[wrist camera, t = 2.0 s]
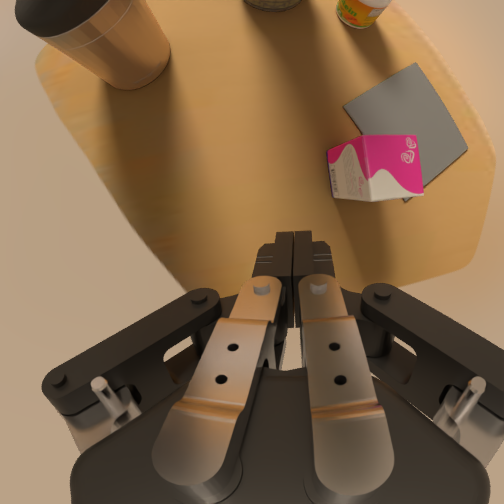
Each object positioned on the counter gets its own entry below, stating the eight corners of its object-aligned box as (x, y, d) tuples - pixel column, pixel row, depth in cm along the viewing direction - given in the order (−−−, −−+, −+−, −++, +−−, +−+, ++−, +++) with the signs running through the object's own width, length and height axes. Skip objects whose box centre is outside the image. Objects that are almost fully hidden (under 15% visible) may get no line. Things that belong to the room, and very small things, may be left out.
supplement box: (376, 193, 35) (425, 198, 24) (331, 198, 35) (367, 204, 24) (370, 146, 34) (418, 133, 23) (325, 149, 34) (358, 134, 23)
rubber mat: (342, 106, 33) (343, 106, 33) (414, 62, 31) (415, 62, 31) (404, 201, 35) (405, 201, 35) (467, 148, 34) (468, 148, 33)
